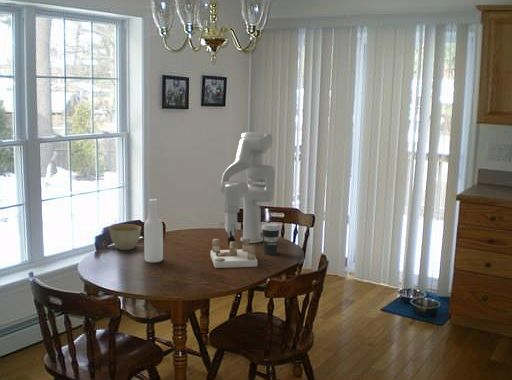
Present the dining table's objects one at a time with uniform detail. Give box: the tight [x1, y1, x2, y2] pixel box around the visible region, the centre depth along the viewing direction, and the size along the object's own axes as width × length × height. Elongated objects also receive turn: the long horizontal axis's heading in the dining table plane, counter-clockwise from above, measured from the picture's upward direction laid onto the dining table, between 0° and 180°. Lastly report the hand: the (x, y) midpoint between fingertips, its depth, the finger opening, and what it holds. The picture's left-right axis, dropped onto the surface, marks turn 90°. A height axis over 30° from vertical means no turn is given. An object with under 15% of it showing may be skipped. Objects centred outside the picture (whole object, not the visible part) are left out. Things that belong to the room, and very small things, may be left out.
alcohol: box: [143, 198, 164, 264], centre depth 282 cm, size 9×9×30 cm
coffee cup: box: [261, 222, 281, 256], centre depth 300 cm, size 10×10×15 cm
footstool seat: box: [210, 248, 258, 269], centre depth 286 cm, size 20×20×3 cm
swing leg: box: [216, 240, 238, 256], centre depth 284 cm, size 10×4×6 cm, turn 101°
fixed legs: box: [212, 238, 256, 260], centre depth 285 cm, size 19×19×6 cm
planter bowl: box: [109, 223, 142, 251], centre depth 306 cm, size 16×16×11 cm
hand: (231, 245), depth 292 cm, fingers closed
